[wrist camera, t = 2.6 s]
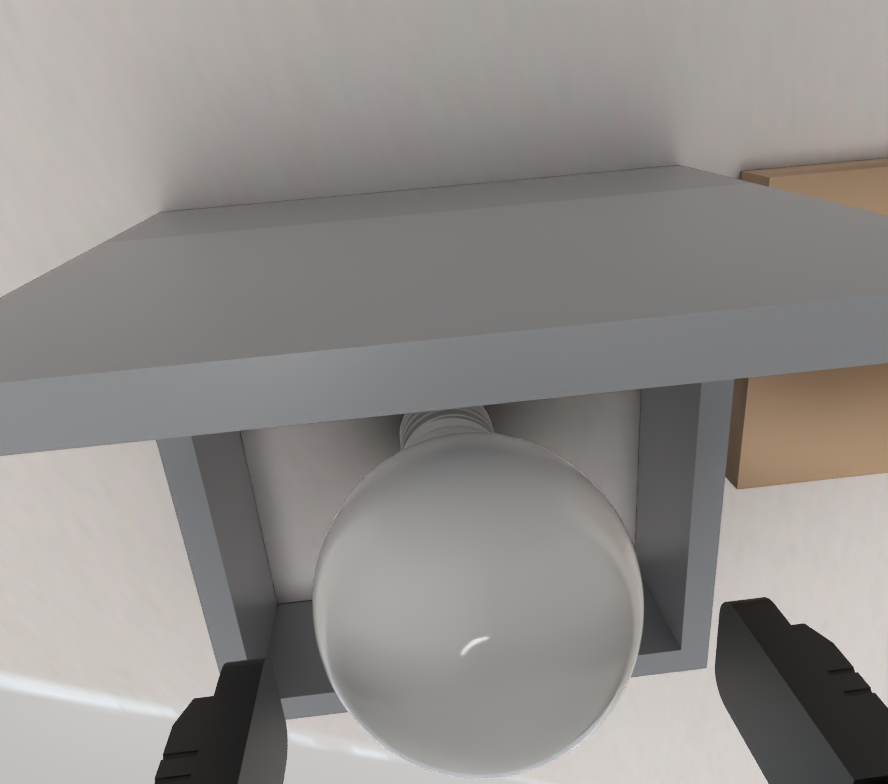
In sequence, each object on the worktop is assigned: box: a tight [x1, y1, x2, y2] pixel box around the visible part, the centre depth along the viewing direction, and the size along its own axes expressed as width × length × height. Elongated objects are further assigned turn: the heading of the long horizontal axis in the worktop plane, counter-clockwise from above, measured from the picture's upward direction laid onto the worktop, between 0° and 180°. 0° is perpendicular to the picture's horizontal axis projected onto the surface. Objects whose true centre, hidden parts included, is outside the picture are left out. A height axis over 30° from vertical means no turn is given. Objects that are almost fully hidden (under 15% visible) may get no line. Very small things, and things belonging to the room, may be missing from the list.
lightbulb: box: [312, 406, 644, 779], centre depth 16 cm, size 6×6×11 cm
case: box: [0, 165, 888, 720], centre depth 15 cm, size 14×14×12 cm
